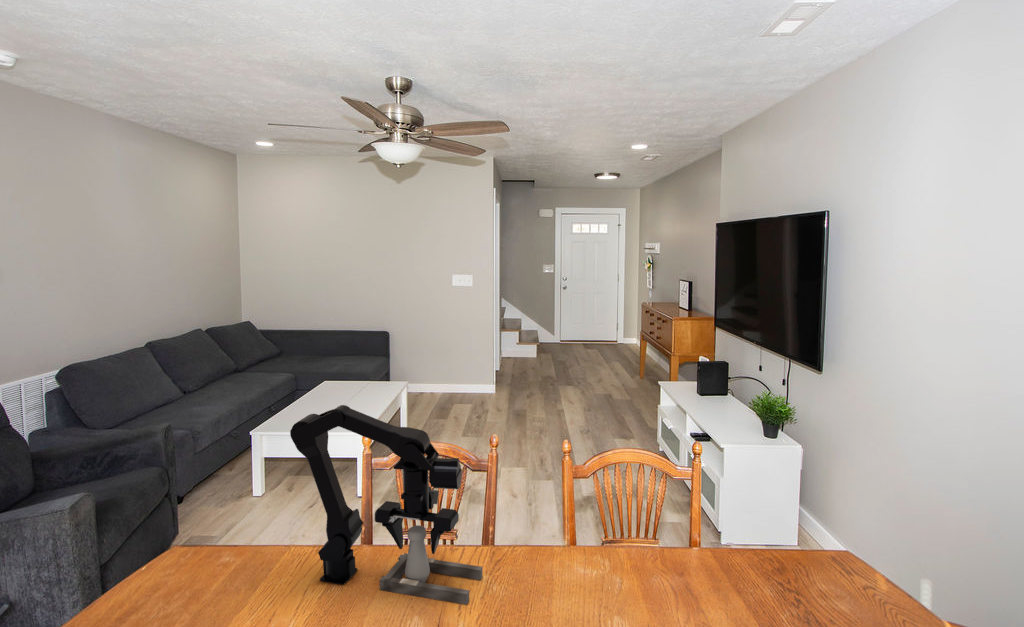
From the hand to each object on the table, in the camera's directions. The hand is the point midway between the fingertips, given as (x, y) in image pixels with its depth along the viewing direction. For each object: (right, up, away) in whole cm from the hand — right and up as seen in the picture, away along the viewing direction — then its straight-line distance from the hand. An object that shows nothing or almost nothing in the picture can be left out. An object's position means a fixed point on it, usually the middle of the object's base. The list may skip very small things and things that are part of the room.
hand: (417, 550), depth 133 cm
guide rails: (+3, -8, 0) cm, 8 cm away
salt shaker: (0, -8, +1) cm, 8 cm away
